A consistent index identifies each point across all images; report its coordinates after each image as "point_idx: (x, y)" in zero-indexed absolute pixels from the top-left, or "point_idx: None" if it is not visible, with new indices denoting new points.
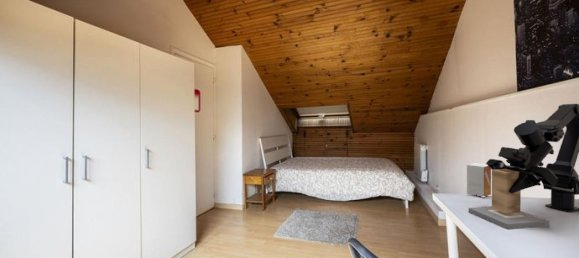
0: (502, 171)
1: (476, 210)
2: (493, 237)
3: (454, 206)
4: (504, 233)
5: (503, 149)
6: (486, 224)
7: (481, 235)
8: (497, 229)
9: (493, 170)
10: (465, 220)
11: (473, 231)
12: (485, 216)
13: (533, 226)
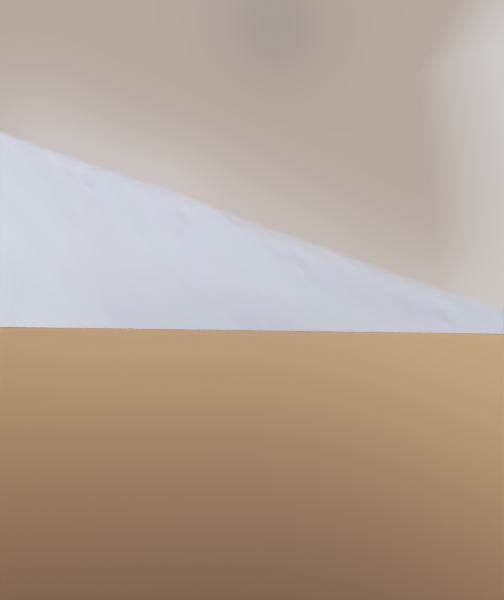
0: (82, 465)
1: None
2: (14, 200)
3: None
4: (26, 288)
5: None
6: (156, 297)
7: (52, 170)
8: (80, 297)
9: (442, 343)
10: (233, 233)
11: (100, 170)
12: None
13: None
